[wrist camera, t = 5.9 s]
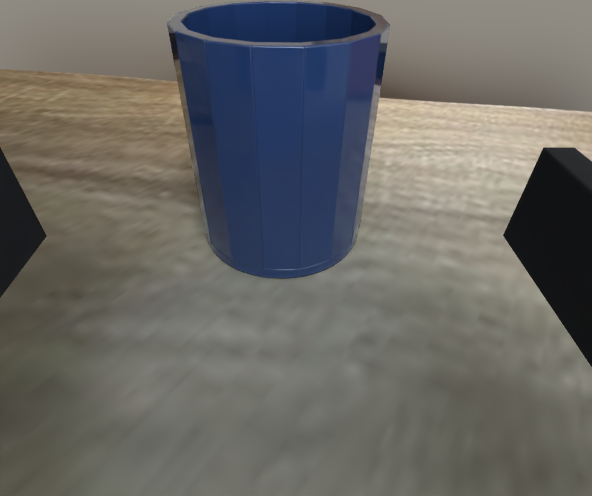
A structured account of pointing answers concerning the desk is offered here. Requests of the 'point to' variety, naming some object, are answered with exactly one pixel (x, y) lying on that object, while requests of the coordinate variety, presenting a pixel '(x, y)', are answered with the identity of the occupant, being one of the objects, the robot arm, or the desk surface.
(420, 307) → the desk surface
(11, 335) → the desk surface
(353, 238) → the mug
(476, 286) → the desk surface
